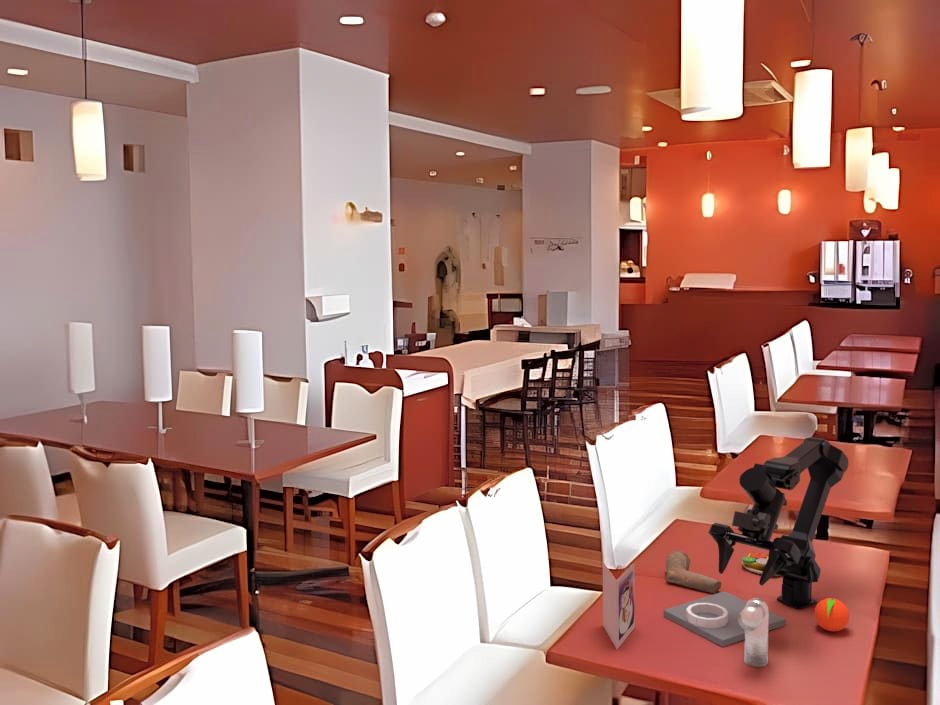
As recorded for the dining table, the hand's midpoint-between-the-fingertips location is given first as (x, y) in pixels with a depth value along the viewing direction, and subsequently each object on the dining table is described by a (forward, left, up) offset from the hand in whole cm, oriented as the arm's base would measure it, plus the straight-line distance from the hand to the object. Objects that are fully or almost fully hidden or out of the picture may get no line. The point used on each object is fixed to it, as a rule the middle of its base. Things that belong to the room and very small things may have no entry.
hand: (740, 578), depth 182 cm
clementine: (-20, +7, -14) cm, 25 cm away
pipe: (-14, -29, -14) cm, 35 cm away
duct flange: (-4, -9, -14) cm, 17 cm away
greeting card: (+21, -16, -14) cm, 30 cm away
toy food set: (-37, -25, -14) cm, 47 cm away
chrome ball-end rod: (+6, +9, -14) cm, 17 cm away
